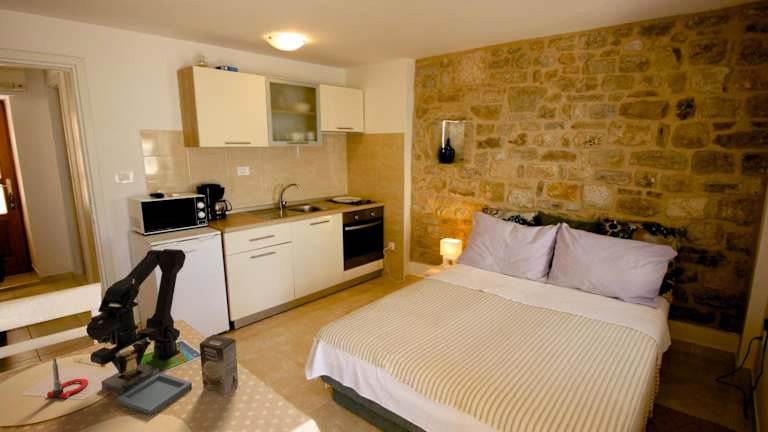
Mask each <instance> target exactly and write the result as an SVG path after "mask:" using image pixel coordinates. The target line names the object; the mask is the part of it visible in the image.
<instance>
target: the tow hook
mask: <svg viewBox="0 0 768 432" xmlns="http://www.w3.org/2000/svg"><path fill="white" fill-rule="evenodd" d="M58 365H59V364H58V363H57V357H56V356H55V357H52V371H53V372H52V373H53V389H52V390H51V391H48V392H47V393H46V396H47V397H50V398H52V397H53V398H54V399H55V398H56V399H67V400H68V399H69V398H70V396H72V395H74V394H77V393H79V392H81V391H83V390H84V389H86V388H87V387H88V386H87V385H89V381H88V379H86V378H76V379H75V378H74V379H70V380H67V381H64V382H63V383H62V380H61V379H60V374H59V366H58ZM75 382H81V383H82V384H81V383H80V384H81V385H80V386H78V387H75V388H74V389H71V390H66V391H65V392H64V388H65V387H66V386H65V385H67V384H70V383H74V384H76V383H75ZM70 385H71V384H70ZM64 386H65V387H64ZM67 386H68V385H67ZM86 386H87V387H86ZM62 387H64V388H62ZM85 387H86V388H85ZM76 392H77V393H76ZM68 397H69V398H68Z"/></svg>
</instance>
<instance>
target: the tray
mask: <svg viewBox="0 0 768 432" xmlns="http://www.w3.org/2000/svg"><path fill="white" fill-rule="evenodd" d="M192 384H193V383H192V381H188V380H184V379H182V378H178V377H175V376H173V375H168V374H166V373H162V372H159V374H157V375H155V376H154V377H152V378H150V379H149V380H147V381H145V382H144V383H142V384H140V385H139V386H137V387H135V388H134V389H132V390H130V391H129V392H127V393H125V394H124V395H122V396H121V395H119V397H117V398H116V399H117V404H118V405H120V406H121V407H125V408H128V409H130V410H133V411H135V412H138V413H140V414H143V415H145V414H147V415H146V416H148V415H150V416H149V417H151V416H152V415H153V416H155V415H156V414H157V413H159V412H161V411H162V410H164V409H165V408H166V407H168V406H169V405H170V404H172V403H173V402H174V401H177V400H178V399H179V398H180V397H182V396H184V395H185V394H186V393H188V392H189V391H190V390H192V389H193V385H192ZM154 414H155V415H154ZM153 416H152V417H153Z"/></svg>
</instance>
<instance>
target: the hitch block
mask: <svg viewBox="0 0 768 432" xmlns="http://www.w3.org/2000/svg"><path fill="white" fill-rule="evenodd" d="M137 369H138V376H137V377H135V378H133V379H131V380H130V381H126V380H124V378H123V374H120V373H119V371H118V372H116V373H115V374H113V375H111V376H109V377H107V378H105V379H103V380H101V389H102V390H105V391H108V392H111V393H113V394H116V395H118V396H122V395H124V394H125V393H127V392H129V391H130V390H132V389H134V388H135V387H137V386H139V385H140V384H142V383H144V382H145V381H147V380H149V379H150V378H152V377H154V376H155V375H157V374H159V373H160V371H159V367H157V366H153V365H149V364H146V363H143V362H140V365H137Z"/></svg>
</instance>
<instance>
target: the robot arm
mask: <svg viewBox="0 0 768 432" xmlns="http://www.w3.org/2000/svg"><path fill="white" fill-rule="evenodd" d="M186 257H187V256H186V253H185V252H184V250H183V249H174V248H164V249H163V250H162V249H151V250H150V249H149V250H148V251H147V252H146V255H145V256H144V257H143V258H142V259H141V260H140V262H138V264H137V265H135V267H134V268H133V269H132V270H131V271H130V272H129V273H128V274H127V275H126V276H125V277H124V278H122V279H120V280H118V281H116V282H114V283H113V284H112V285H110V286H109V287H108V288H107V289H106V291H105V292H104V296H103V297H102V301H101V304H100V305H99V308H98V312H99V313H100V314H97V315H95V316H92V317H91V318H90V320H91V322H89V323H88V324H87V326H86V334H87V335H88V337H89V338H90V339H92V340H94V341H97V344H104V345H107V344H110V345H111V346H113V347H112V348H108V347H102V348H99V349H98V350H95V351H93V352H92V353H91V354H90V356H89V357H90V362H91V363H95V364H97V365H99V366H105V365H108V364H110V363H111V364H113V365H114V367H115V368H116V370H117V371H118V372H119V373H120V374H123V372H124V356H120V354H121V351H124V350H126V349H127V348H129V347H133V350H136V351H138V355H137V356H136V361H137V365H140V363H142V360H143V357H144V355H145V353H146V351H147V349H148V348H149V346H150V345H151V343H152V342H153V344H154V345H153V355H152V358H155V359H159V360H162V361H166V360H168V359H170V358H171V357H174V356H176V355H177V354H178V353H180V352H181V350H180V349H178V348H177V341H178V338H180V335H181V331H180V330H179V329H177V328H176V327H174V324H175V321H174V318H173V316H172V314H171V313H172V307H173V300H174V294H175V289H176V282H177V276H178V273H180V271H181V270H182V268H183V267H184V264H185V261H186ZM157 267H159V269H160V271H161V275H160V282H159V286H158V287H159V288H158V293H157V298H156V305H155V310H154V313H153V315H152V316H151V317H147V319H146V323H145V324H146V325H145V327H144V328H142V329H140V330H138V329H139V325H137V324H136V321H135V312H134V308H136V307H138V306H139V303H138V302H136V301H135V300H136V299H137V297H138V295H139V294H140V287H141V285H142V284H143V283H144V282H145V281H146V280H147V278H148V277H149V276H150V275H151V274H152V273H153V271H154V270H155V269H156V268H157ZM114 305H116V306H114ZM137 330H138V331H137ZM114 345H115V346H114Z"/></svg>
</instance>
